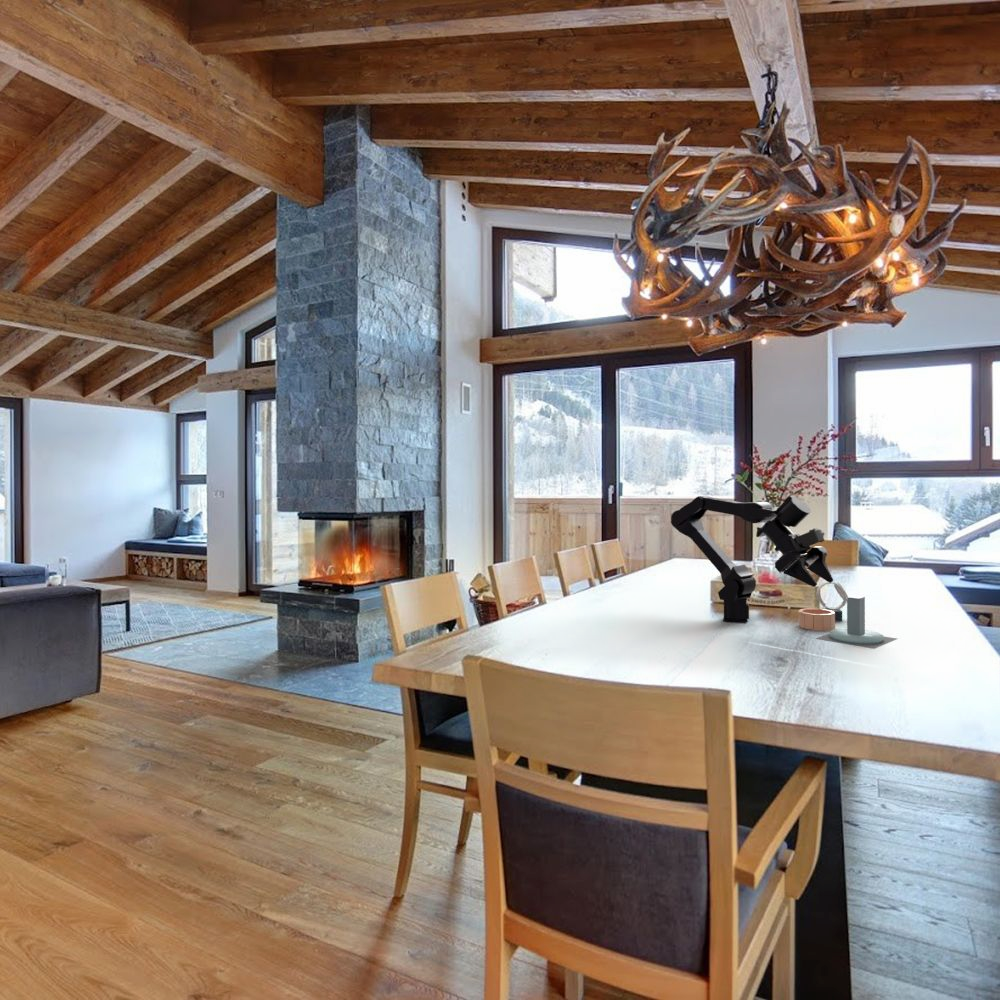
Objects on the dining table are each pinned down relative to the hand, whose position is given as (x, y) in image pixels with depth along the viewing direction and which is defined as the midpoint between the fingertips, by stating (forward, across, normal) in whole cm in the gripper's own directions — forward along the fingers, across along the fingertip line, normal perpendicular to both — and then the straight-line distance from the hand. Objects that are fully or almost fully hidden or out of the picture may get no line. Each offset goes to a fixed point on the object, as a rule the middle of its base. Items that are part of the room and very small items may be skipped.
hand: (823, 583), depth 175 cm
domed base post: (+15, 0, +3) cm, 15 cm away
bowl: (+6, +6, +13) cm, 16 cm away
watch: (+5, +19, +14) cm, 24 cm away
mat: (+15, 0, +4) cm, 16 cm away
